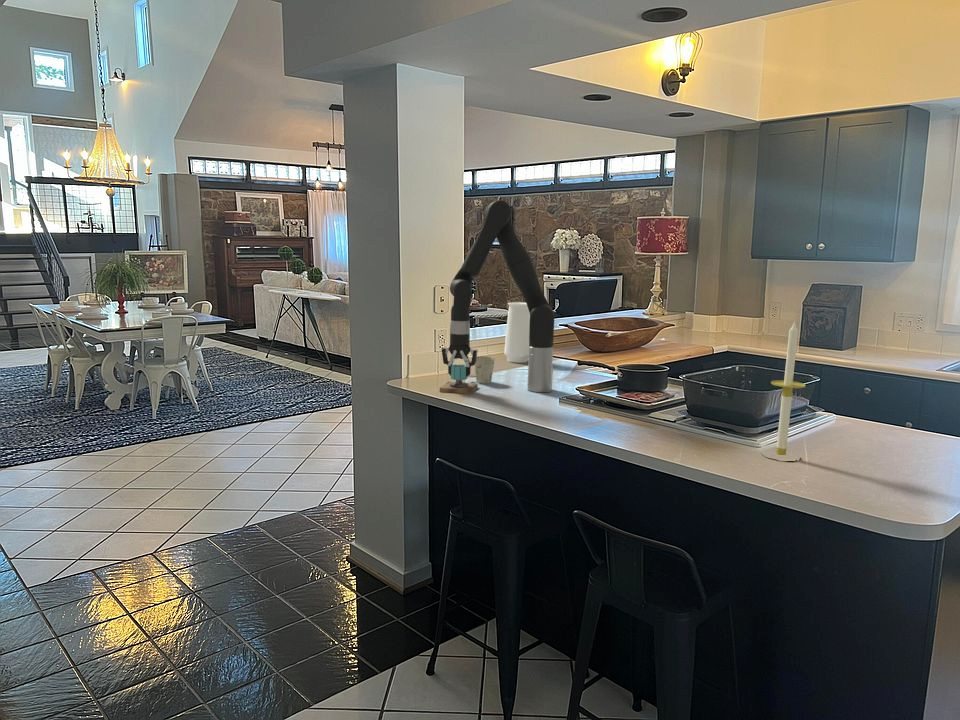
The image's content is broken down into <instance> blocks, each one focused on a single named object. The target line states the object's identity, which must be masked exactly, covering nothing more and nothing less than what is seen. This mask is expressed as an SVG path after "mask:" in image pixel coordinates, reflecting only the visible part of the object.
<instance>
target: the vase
mask: <svg viewBox="0 0 960 720" xmlns="http://www.w3.org/2000/svg"><path fill="white" fill-rule="evenodd" d="M507 305H508V310H507V318H506V319H507V321H506V328H505V329H506V330H505V339H504V340H505V341H504V350H503V351H504V352H503V353H504V355H505V356H506V360H507V362H509V363H514V364H515V363H516V364H517V363H518V364H519V363H522V364H523V363H527V362H528V361H529V327H530V313H529V310H528V307H527V304H526V302H518V301H514V302H513V301H512V302H508V303H507Z"/></svg>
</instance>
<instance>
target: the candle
mask: <svg viewBox="0 0 960 720" xmlns="http://www.w3.org/2000/svg"><path fill="white" fill-rule="evenodd" d="M798 336H799V329H798V328H797V325H796V320H795V319H794V321H793V323H792V326H791V327H790V329H789V330H788V337H787V339H788V340H787V350H786V360H785V370H784V377H783V380H782V379H781V380H777V379H776V380H772V381H770V384H771V385H773V386H775V387H780V388H781V389H782V391H781V401H780V410H779V418H778V419H779V420H778V421H779V422H778V429H777V430H778V431H777V440H776V449H775V450H776V454H778V455H786V451H787V449H788V448H787V447H788V438H789V429H790V420H791V419H790V417H791V409H792V399H793V393H794V392H793V390H794V389H804V388H806V384H805V383H802V382H798V381H794V375H795V373H794V371H795V364H796V353H797V343H798Z"/></svg>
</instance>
